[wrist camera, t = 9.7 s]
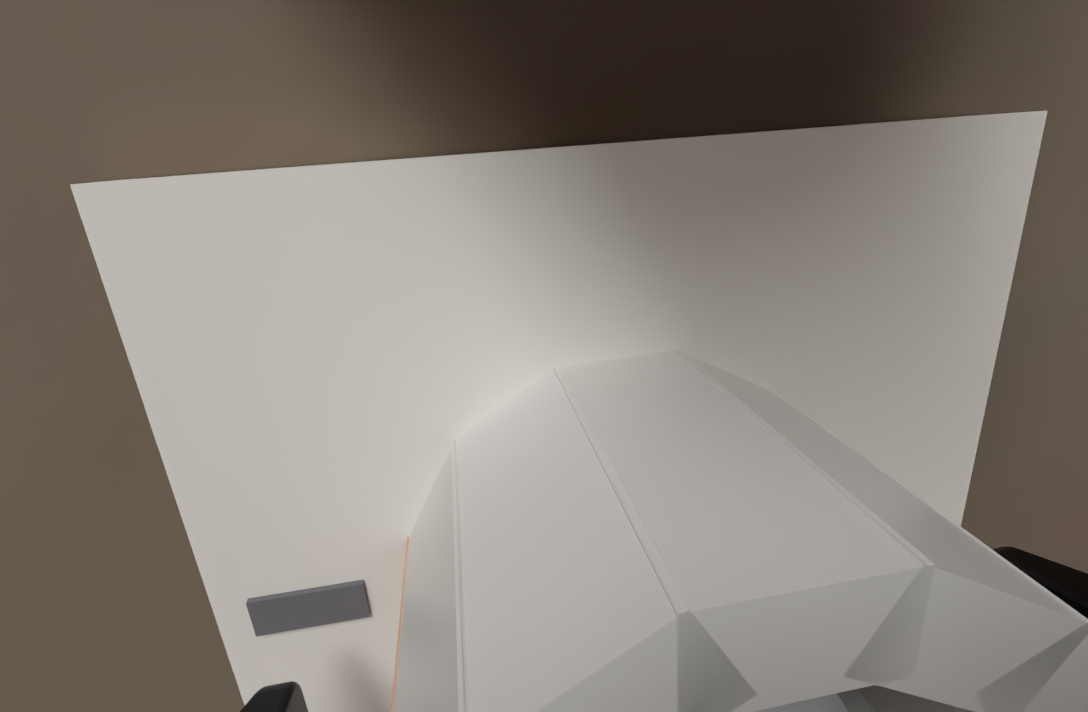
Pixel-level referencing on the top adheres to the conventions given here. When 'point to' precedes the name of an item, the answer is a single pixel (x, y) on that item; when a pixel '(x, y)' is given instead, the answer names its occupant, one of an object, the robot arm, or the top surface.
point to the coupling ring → (705, 565)
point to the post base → (532, 333)
